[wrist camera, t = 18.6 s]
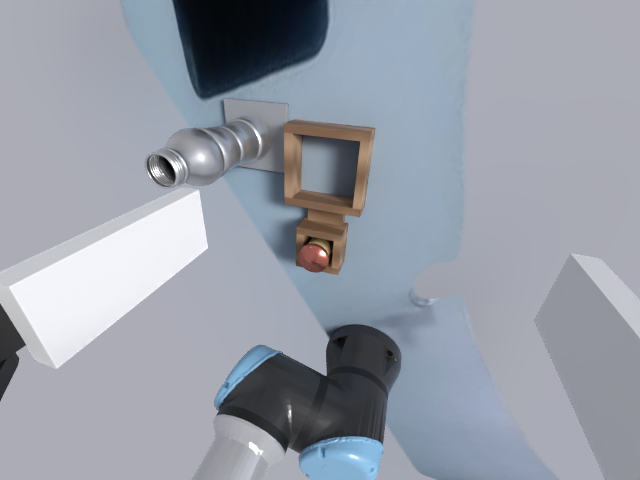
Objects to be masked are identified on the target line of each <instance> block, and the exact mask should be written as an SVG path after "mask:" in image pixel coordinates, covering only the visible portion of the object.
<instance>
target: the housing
mask: <svg viewBox="0 0 640 480" xmlns="http://www.w3.org/2000/svg"><path fill="white" fill-rule="evenodd" d="M374 133H375V128H369V127H360V126H351V125H341V124H332V123H322V122H313V121H303V120H292V121H289V122H287V123H284V189H285V204H287V205H293V206H298V207H304V208H308V216H305V218H304V219H303V220H302V221H301V222H300V224H299V225H298V226H297V233H296V266H300V267H303V266H302V265H301V264H300V262H299V258H298V255H299V252H300V250H301V249H302V247H303V246H305V245H306V244H308V243H309V242H310V240H311V239H312V237H316V238H321V239H326V240H331V241H334V244H333V253H332V252H331V254H330V256H329V263H328V265H327V267H326V268H325V269H324V270H323V271H322V272H327V273H331V274H336V275H338V274H339V271H340V269H341V267H342V264H343V262H344V257H345V248H346V239H347V230H348V223H344V219H345V215H350V216H356V217H360V215H361V213H362V211H363V209H364V205H365V198H366V191H367V184H368V176H369V169H370V162H371V155H372V147H373V140H374ZM302 135H310V136H319V137H327V138H336V139H344V140H353V141H360V149H359V158H358V166H357V175H356V183H355V192H354V198H349V197H343V196H337V195H331V194H324V193H318V192H312V191H306V190H301V160H302Z"/></svg>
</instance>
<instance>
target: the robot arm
mask: <svg viewBox="0 0 640 480" xmlns="http://www.w3.org/2000/svg"><path fill="white" fill-rule="evenodd" d="M207 248H208V245H207V239H206V233H205V226H204V221H203V213H202V207H201V201H200V194H199V190H197V189H192V188H186V187H181V188H179V189H177V190H175V191H173V192H171V193H169V194H167V195H164V196H162V197H160V198H158V199H156V200H153V201H151V202H149V203H147V204H145V205H143V206H141V207H138V208H137V209H134V210H132V211H130V212H128V213H126V214H123V215H121V216H119V217H117V218H115V219H113V220H110V221H108V222H106V223H104V224H102V225H100V226H98V227H95V228H93V229H91V230H89V231H87V232H85V233H83V234H80V235H78V236H76V237H74V238H72V239H70V240H68V241H65V242H63V243H61V244H59V245H57V246H55V247H52V248H50V249H48V250H46V251H44V252H42V253H39V254H37V255H35V256H33V257H31V258H29V259H27V260H24V261H22V262H20V263H18V264H16V265H14V266H12V267H10V268H7V269H5V270H3V271H1V272H0V400H1V398H2V396H3V394H4V392H5V390H6V388H7V386H8V384H9V382H10V380H11V378H12V376H13V374H14V372H15V370H16V368H17V366H18V363H19V357H18V356H17V354H16V353H15V352H16V351H18V350H19V349H21V348H22V347H24V346H25V345H26V347H27V348H28V350H29V351H30V353H31V355H32V356H33V358H34V359H35V361H37V362H40V363H42V364H45V365H48V366H50V367H53V368H56V369H57V368H59V367H60V366H61V365H62V364H63V363H64V362H66V361H67V360H69V359H70V358H71V357H72V356H74V355H75V354H76V353H77V352H78V351H80V350H81V349H82V348H83V347H85V346H86V345H87V344H88V343H90V342H91V341H92V340H93V339H95V338H96V337H97V336H98V335H100V334H101V333H102V332H103V331H105V330H106V329H107V328H108V327H110V326H111V325H112V324H113V323H115V322H116V321H117V320H118V319H120V318H121V317H122V316H123V315H125V314H126V313H127V312H128V311H130V310H131V309H132V308H133V307H135V306H136V305H137V304H138V303H140V302H141V301H142V300H143V299H145V298H146V297H147V296H148V295H149V294H151V293H152V292H153V291H155V290H156V289H157V288H158V287H159V286H161V285H162V284H163V283H165V282H166V281H167V280H168V279H170V278H171V277H172V276H173V275H175V274H176V273H177V272H178V271H179V270H181V269H182V268H183V267H185V266H186V265H187V264H188V263H190V262H191V261H192V260H193V259H194V258H196V257H197V256H198V255H200V254H201V253H202V252H203V251H205V250H206V249H207ZM534 320H535V323H536V325H537V327H538V330H539V332H540V334H541V337H542V339H543V341H544V343H545V346H546V348H547V350H548V352H549V354H550V357H551V359H552V361H553V363H554V366H555V368H556V370H557V372H558V375H559V377H560V379H561V381H562V384H563V386H564V388H565V390H566V393H567V395H568V397H569V399H570V401H571V404H572V406H573V408H574V410H575V413H576V415H577V417H578V419H579V422H580V424H581V426H582V428H583V430H584V433H585V435H586V437H587V440H588V442H589V444H590V446H591V449H592V451H593V453H594V455H595V457H596V460H597V462H598V464H599V467H600V469H601V471H602V473H603V475H604V478H605V480H640V300H639V299H638V298H637V297H636V296H635V295H634V294H633V292H632V291H631V290H630V289H629V288H628V287H627V286H626V285H625V284H624V283H623V282H622V281H621V280H620V279H619V278H618V277H617V276H616V275H615V274H614V273H613V272H612V270H611V269H610V268H608V266H607V265H606V264H605V263H604V262H603V261H602V260H601V259H600V258H594V257H588V256H582V255H577V254H570V256H569V257H568V259H567V261H566V263H565V265H564V267H563V268H562V270H561V272H560V274H559V276H558V278H557V279H556V281H555V283H554V285H553V287H552V288H551V290H550V292H549V294H548V296H547V298H546V299H545V302H544V303H543V305H542V307H541V308H540V310H539V312H538V314H537V316H536V318H535V319H534ZM326 363H327V376H324V375H322V374H321V373H319V372H317V371H315V370H313V369H311V368H309V367H307V366H305V365H303V364H302V363H300V362H298V361H296V360H294V359H292V358H290V357H288V356H286V355H284V354H283V352H281V351H276V350H274V349H272V348H269V347H267V346H265V345H258V346H255V347H253V348H252V349H251V350H249V351H248V352H247V353H246V354H245V355H244V356H243V357H242V358H241V360H240V361H239V362H238V363H237V365H236V366H235V367H234V369H233V370H232V371H231V373H230V374H229V376H228V377H227V379H226V382H224V384H223V385H222V387H221V388H220V390H219V392H218V393H217V396H216V398H215V401H214V406H215V407H216V409H217V410H218V411H219V412H218V413H217V415H216V417H215V419H214V421H213V422H214V429H215V439H214V441H213V443H212V445H211V447H210V448H209V450H208V452H207V453H206V455H205V457H204V459H203V461H202V462H201V464H200V466H199V468H198V469H197V471H196V473H195V475H194V477H193V478H192V480H263V479H264V477H265V474H266V472H267V469H268V467H269V466H270V465H272V464H274V463H276V462H278V461H280V460H282V459H283V458H284V456H285V453H286V450H287V448H288V447H289V448H291V449H293V450H294V451H296V452H298V453H300V455H299V467H300V469H301V471H302V472H303V473H305V474H306V475H307V477H308V478H310V479H311V480H375V479H376V477H377V475H378V472H379V466H380V460H381V455H382V453H383V439H384V430H385V420H386V411H387V400H388V394H389V392H390V390H391V388H392V386H393V384H394V383H395V381H396V379H397V377H398V375H399V373H400V369H401V353H400V350H399V348H398V346H397V345H396V343H395V342H394V341H393V340H392V339H391V338H390V337H389V336H387V335H386V334H384V333H383V332H381V331H379V330H377V329H374V328H372V327H368V326H363V325H349V326H345V327H342V328H340V329H338V330H336V331H335V332H334V333H333V334H332V336H331V337H330V340H329V343H328V345H327V349H326Z"/></svg>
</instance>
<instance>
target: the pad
mask: <svg viewBox="0 0 640 480" xmlns="http://www.w3.org/2000/svg"><path fill="white" fill-rule="evenodd" d="M224 109H225V120H226V123H228V122H230V121H231V120H233V119H235V118H237V117H239V116H252V117H256V118H258V119H259V120H261V121H262V122H263V123H264V124H265V125H266V126H267V128H268V129H269V131H270V134H271V139H272V144H271V148H270V151H269V152H268V153H267V155H266V156H265V157H264V158H262V159H261V160H259V161H256V162H251V163H244V164H241V165H238V166H241V167H248V168H255V169H261V170H268V171H275V172H282V173H284V123H287V122H288V104H284V103H274V102H263V101H252V100H241V99H231V98H224Z"/></svg>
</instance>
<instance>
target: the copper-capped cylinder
mask: <svg viewBox="0 0 640 480" xmlns="http://www.w3.org/2000/svg"><path fill="white" fill-rule="evenodd" d="M333 244H334V241H331V240H326V239H321V238H316V237H312V239H311V240H310V242H309V243H308V244H306V245H305V246H303V247H302V249H301V250H300V252H299V255H298V258H299V262H300V264H301V265H302V266H303V267H304V268H305V269H306V270H308V271H310V272H321V271H323V270H324V269H325V268H326V267H327V265H328V263H329V256H330V254H331V252H332V250H333Z"/></svg>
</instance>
